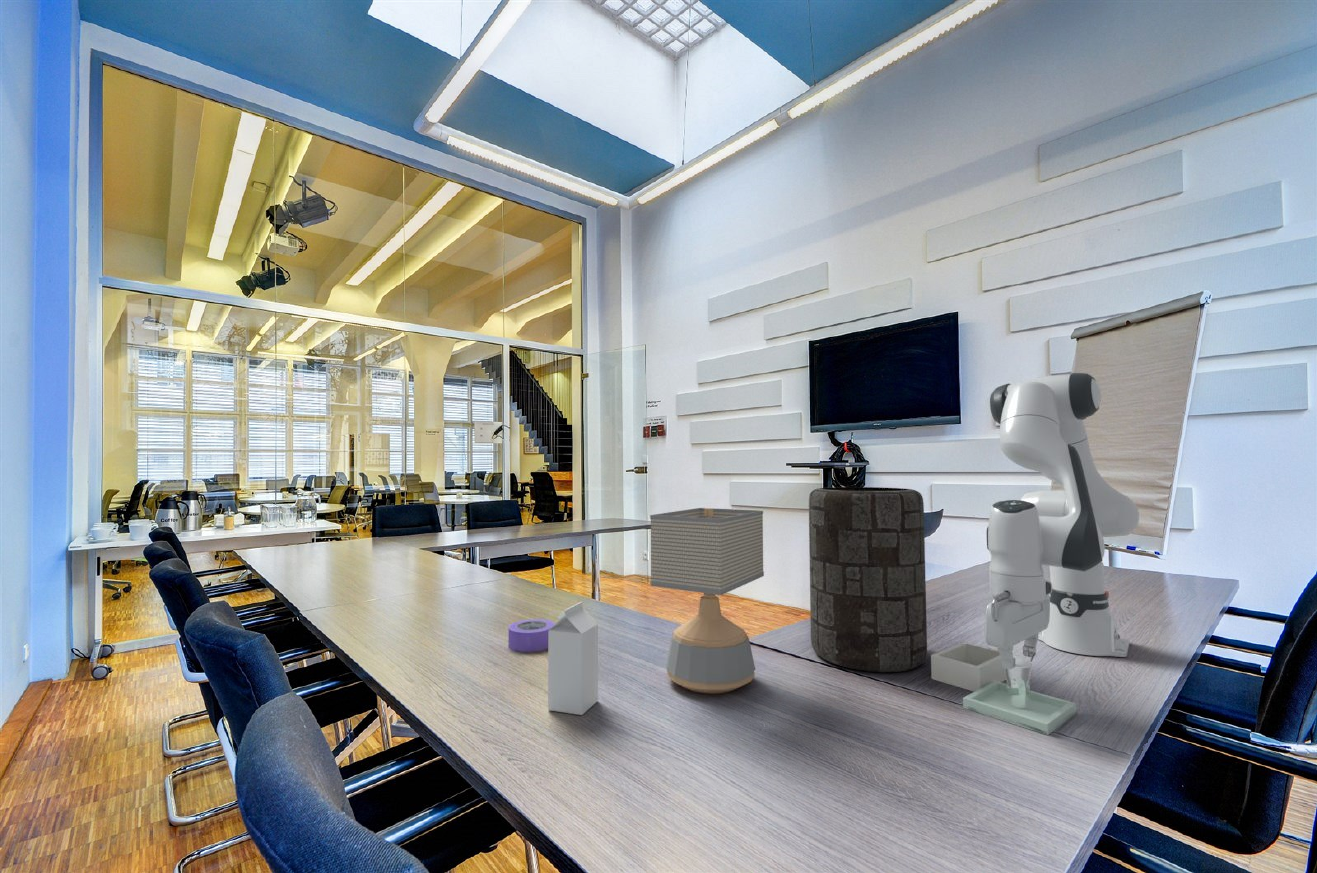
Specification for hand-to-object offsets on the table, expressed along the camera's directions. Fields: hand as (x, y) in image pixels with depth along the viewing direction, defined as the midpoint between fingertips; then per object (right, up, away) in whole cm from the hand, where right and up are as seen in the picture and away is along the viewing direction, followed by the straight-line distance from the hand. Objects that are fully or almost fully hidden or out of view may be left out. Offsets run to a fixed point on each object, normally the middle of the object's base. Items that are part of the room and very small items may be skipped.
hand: (1019, 661), depth 108 cm
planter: (-18, -11, +30) cm, 37 cm away
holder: (0, -10, +16) cm, 19 cm away
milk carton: (-84, -10, +2) cm, 85 cm away
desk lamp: (-57, -10, +14) cm, 60 cm away
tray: (0, -9, -1) cm, 9 cm away
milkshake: (0, -9, 0) cm, 9 cm away
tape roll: (-101, -12, +40) cm, 109 cm away
